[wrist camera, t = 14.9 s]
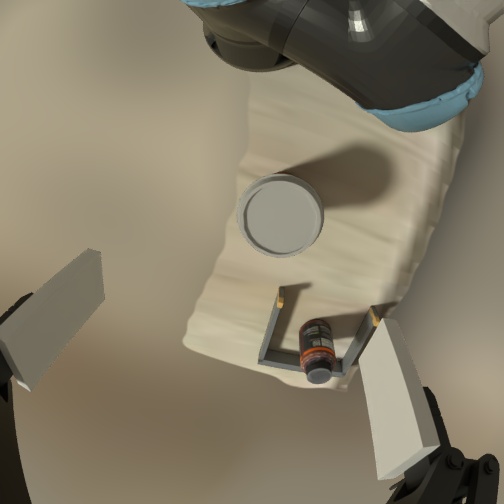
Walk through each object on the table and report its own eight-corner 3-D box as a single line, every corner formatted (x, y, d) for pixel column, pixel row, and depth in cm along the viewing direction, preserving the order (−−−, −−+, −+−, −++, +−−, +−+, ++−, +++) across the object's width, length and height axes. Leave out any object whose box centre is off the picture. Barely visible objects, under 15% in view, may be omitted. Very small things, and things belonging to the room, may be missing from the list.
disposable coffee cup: (264, 233, 44) (256, 272, 33) (238, 175, 40) (220, 196, 29) (324, 211, 41) (337, 245, 30) (300, 151, 38) (306, 162, 27)
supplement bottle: (310, 346, 52) (313, 392, 42) (292, 328, 51) (291, 375, 41) (337, 332, 50) (344, 378, 40) (319, 312, 49) (325, 359, 39)
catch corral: (279, 286, 47) (278, 302, 43) (374, 306, 47) (380, 322, 43) (259, 353, 54) (256, 369, 51) (341, 367, 54) (343, 383, 50)
